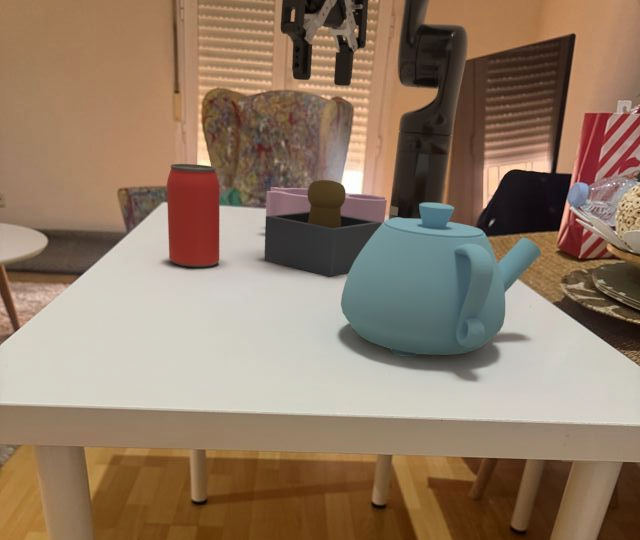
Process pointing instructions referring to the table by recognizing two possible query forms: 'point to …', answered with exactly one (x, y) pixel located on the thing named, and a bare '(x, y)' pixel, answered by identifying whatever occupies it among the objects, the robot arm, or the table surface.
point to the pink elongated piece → (298, 202)
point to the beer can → (193, 215)
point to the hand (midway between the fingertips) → (322, 82)
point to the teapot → (431, 285)
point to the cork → (326, 203)
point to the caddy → (316, 242)
